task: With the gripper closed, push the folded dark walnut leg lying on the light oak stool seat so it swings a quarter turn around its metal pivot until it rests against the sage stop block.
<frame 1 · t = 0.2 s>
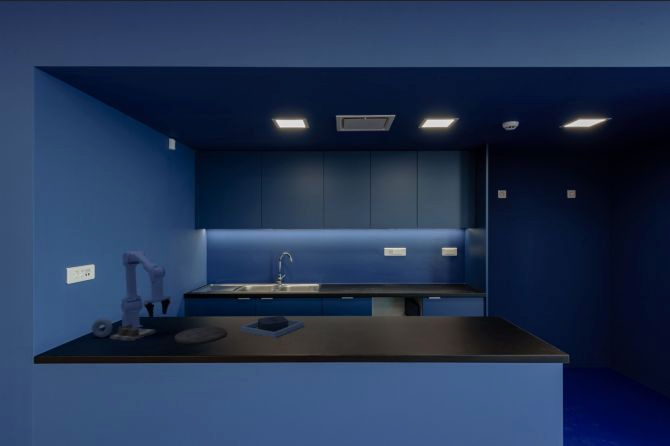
hand: (157, 315, 199), 10 cm above the countertop, tool pointing down, fingers open, 7 cm apart
stool seat: (121, 337, 196), on the countertop
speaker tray: (272, 328, 205), on the countertop
trivet: (201, 337, 194), on the countertop
streaming box: (273, 329, 205), resting in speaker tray
donut: (102, 337, 197), on the countertop
stool leg: (127, 331, 194), point 4 cm above the countertop, hinge at 0.0°
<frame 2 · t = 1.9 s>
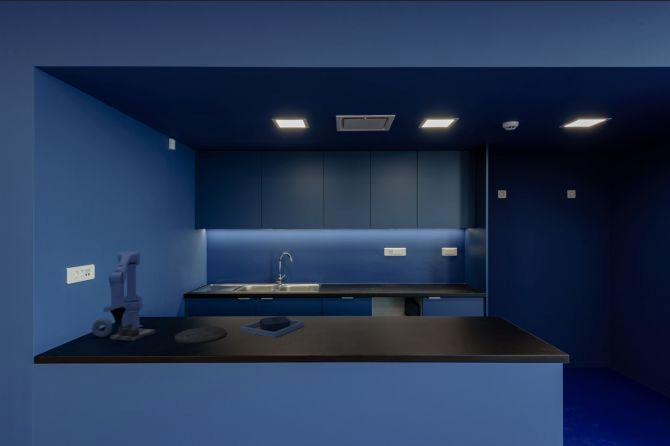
hand: (118, 323, 188), 9 cm above the countertop, tool pointing down, fingers closed
streaming box: (275, 329, 204), resting in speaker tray
everything else where it was.
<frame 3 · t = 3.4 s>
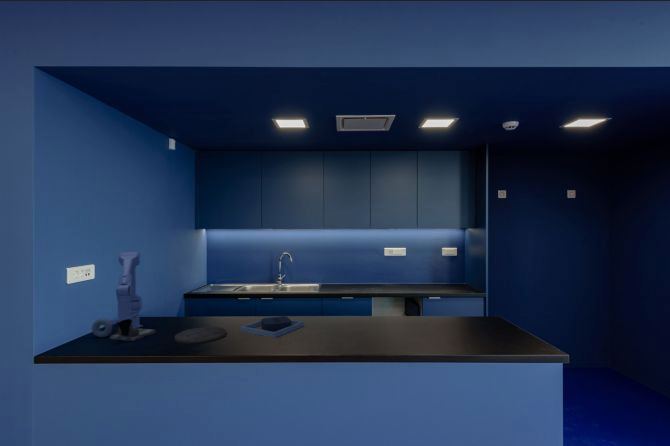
hand: (124, 335, 191), 2 cm above the countertop, tool pointing down, fingers closed, pressing on stool leg
stool leg: (127, 331, 194), point 4 cm above the countertop, hinge at 0.0°, touching gripper
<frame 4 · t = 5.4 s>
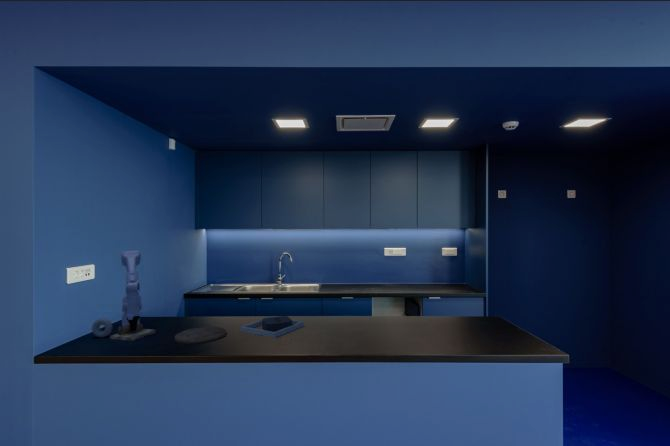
hand: (133, 330, 199), 3 cm above the countertop, tool pointing down, fingers closed, pressing on stool leg
stool leg: (129, 328, 200), point 4 cm above the countertop, hinge at 73.4°, touching gripper
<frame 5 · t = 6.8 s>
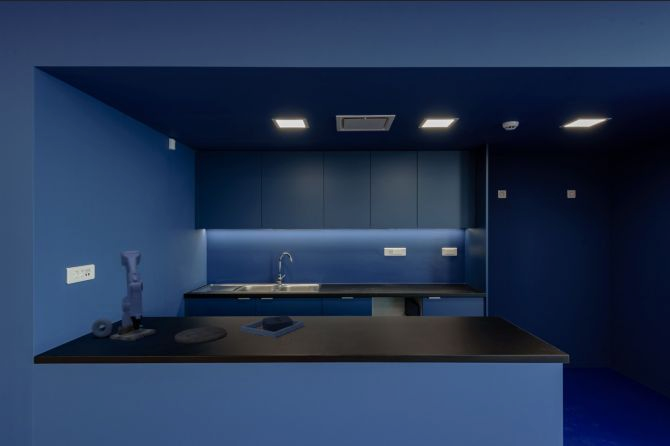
hand: (136, 329, 200), 3 cm above the countertop, tool pointing down, fingers closed
stool leg: (128, 328, 200), point 4 cm above the countertop, hinge at 92.2°
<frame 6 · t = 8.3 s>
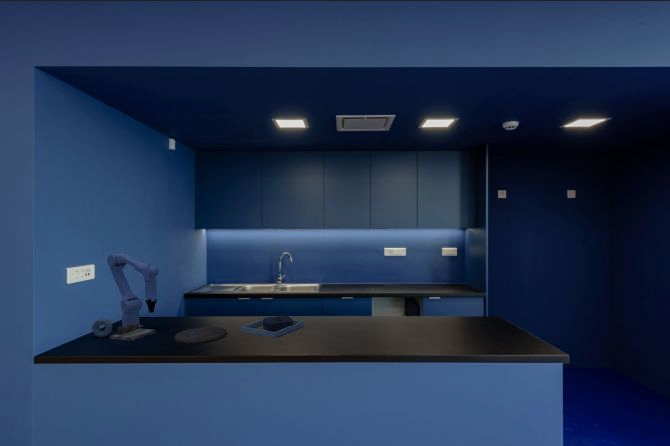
hand: (151, 312, 210), 9 cm above the countertop, tool pointing down, fingers closed
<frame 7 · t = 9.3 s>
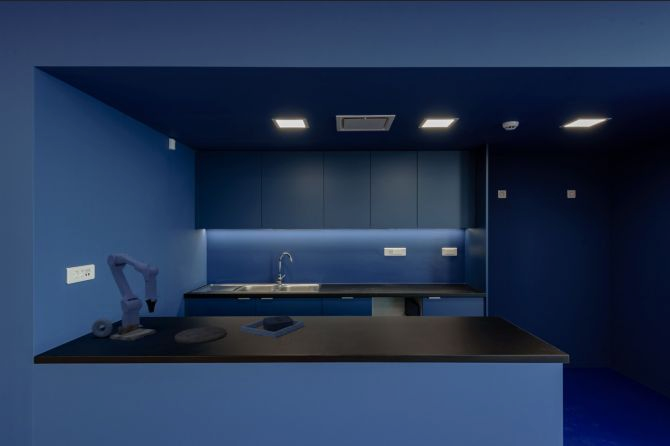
hand: (151, 312, 210), 9 cm above the countertop, tool pointing down, fingers closed
at the end: stool leg at +92° (first picture: +0°); the gripper is holding nothing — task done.
